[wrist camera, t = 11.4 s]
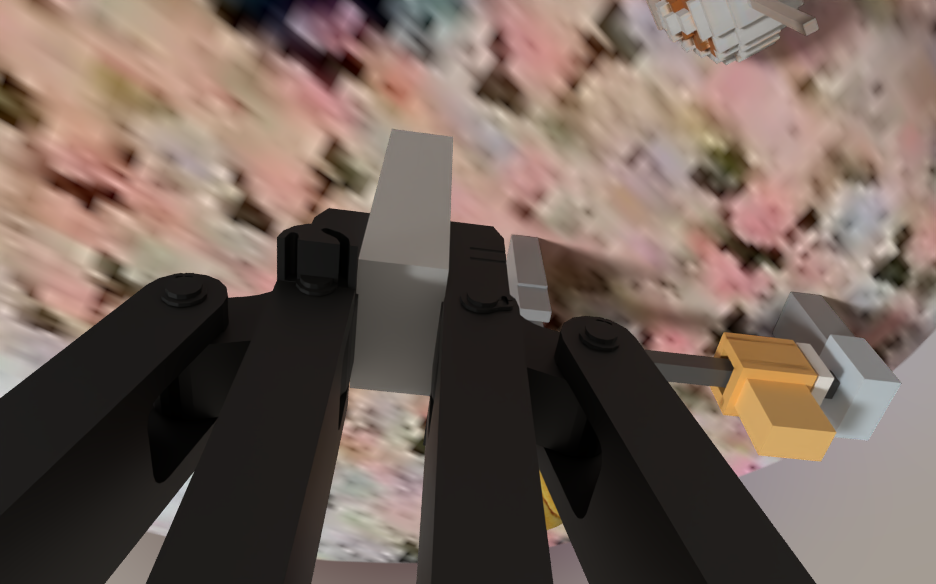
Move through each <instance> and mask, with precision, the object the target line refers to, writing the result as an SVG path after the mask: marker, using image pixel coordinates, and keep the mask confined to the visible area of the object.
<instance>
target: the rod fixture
mask: <svg viewBox="0 0 936 584" xmlns="http://www.w3.org/2000/svg"><path fill="white" fill-rule="evenodd" d="M506 264H507V272H508V281H509V290H510V295H511V296H512V297H514V298H515V299H516V301H517V303H518V305H519V308H520V315H521V316H522V317H524V318H525V319H527V320H529V321H530V322H532V323H534V324H536V325H539V326H542V327H543V322H549V321H550V317H551V312H552V311H551V306H550V301H549V296H548V291H547V287H548V286H547V281H546V276H545V271H544V266H543V261H542V256H541V251H540V246H539V241H538V238H535V237H527V236H519V235H511V240H510V245H509V250H508V255H507V261H506ZM772 334H773V335H774V337H775V338H780V339H789V340H793V341H794V342H795V344H796V345H797V347H798V348H799V349H800V351H801V352H802V354H803V355H804V357H805V358H806V360H807V361H808V363H809V364H810V365H811V367H812V368H813V370H814V371H815V373H816V374H817V378H816V380H815V382H814V384H813V386H812V388H811V390H810V392H811V394H812V395H813V397H814V398H815V400H816V401H817V403H818V405H819V406H820V408H821V409H822V411H823V412H824V414H825V415H826V417H827V418H828V420H829V421H830V423H831V424H832V426H833V428H834V429H835V431H836V432H837V433H836V435H835V436H834V437H840V438H850V439H860V440H869V438H870V436H871V435H872V433H873V431H874V430H875V428H876V426H877V424H878V423H879V421H880V419H881V418H882V416H883V414H884V412H885V411H886V409H887V407H888V406H889V404H890V402H891V401H892V398H893V397H894V395H895V393H896V392H897V390H898V388H899V387H900V385H901V382H900V381H899V379H898V378H897V377H896V376H895V375H894V374H893V372H892V371H891V370H890V369H889V367H888V366H887V365H886V364H885V363H884V361H883V360H882V359H881V358H880V357H879V356H878V354H877V353H876V352H875V351H874V350H873V348H872V347H871V346H870V345H869V344H868V342H867V341H866V340H865V339H864V338H858V337H855V336H854V335H853V334H852V332H851V331H850V330H849V329H848V328H847V326H846V325H845V324H844V323H843V321H842V320H841V319H840V318H839V317H838V315H837V314H836V313H835V312H834V311H833V309H832V308H831V307H830V306H829V304H828V303H827V302H826V301H825V300H824V298H823V297H822V296H821V295H813V294H805V293H796V292H790V295H789V297H788V299H787V301H786V304H785V306H784V308H783V310H782V313H781V315H780V317H779V319H778V322H777V324H776V326H775V328H774V331H773V333H772ZM645 351H646V353H647V354H648V355H649V357H650V358H651V360H652V361H653V362H654V364H655V365H656V366H657V368H658V369H659V370H660V372H661V373H662V375H663V376H664V377H665V379H666V380H667V381H668V382H677V383H687V384H696V385H705V386H715V387H724V388H726V386H727V384H728V381H729V379H730V377H731V374H732V372H733V370H734V367H733V365H732V363H731V361H730V359H724V358H715V357H706V356H697V355H688V354H679V353H670V352H661V351H651V350H645Z"/></svg>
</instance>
